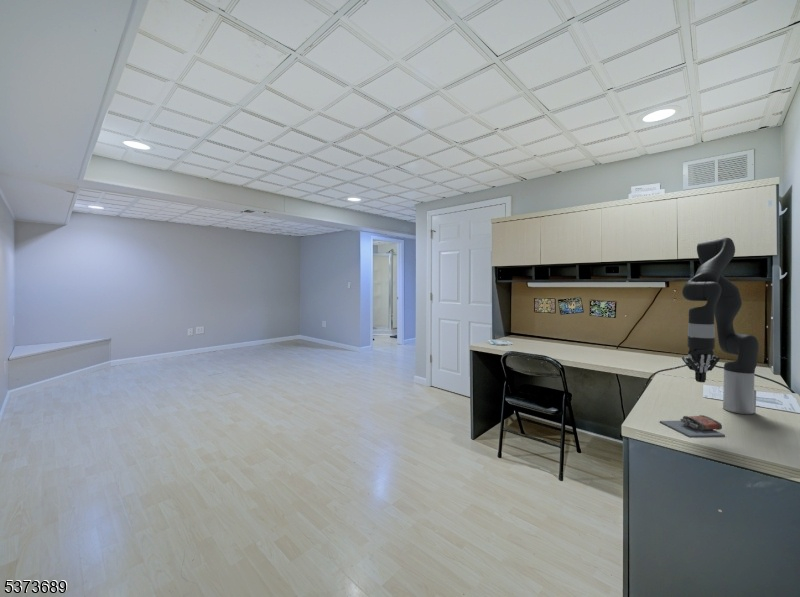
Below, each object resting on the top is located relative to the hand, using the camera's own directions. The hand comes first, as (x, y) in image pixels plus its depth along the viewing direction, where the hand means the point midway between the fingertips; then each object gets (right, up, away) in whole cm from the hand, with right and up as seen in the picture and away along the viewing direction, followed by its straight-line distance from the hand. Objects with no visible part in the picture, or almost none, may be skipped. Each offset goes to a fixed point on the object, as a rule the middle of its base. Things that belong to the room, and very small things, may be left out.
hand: (700, 381), depth 124 cm
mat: (-3, -18, +1) cm, 18 cm away
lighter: (+5, -16, +1) cm, 16 cm away
